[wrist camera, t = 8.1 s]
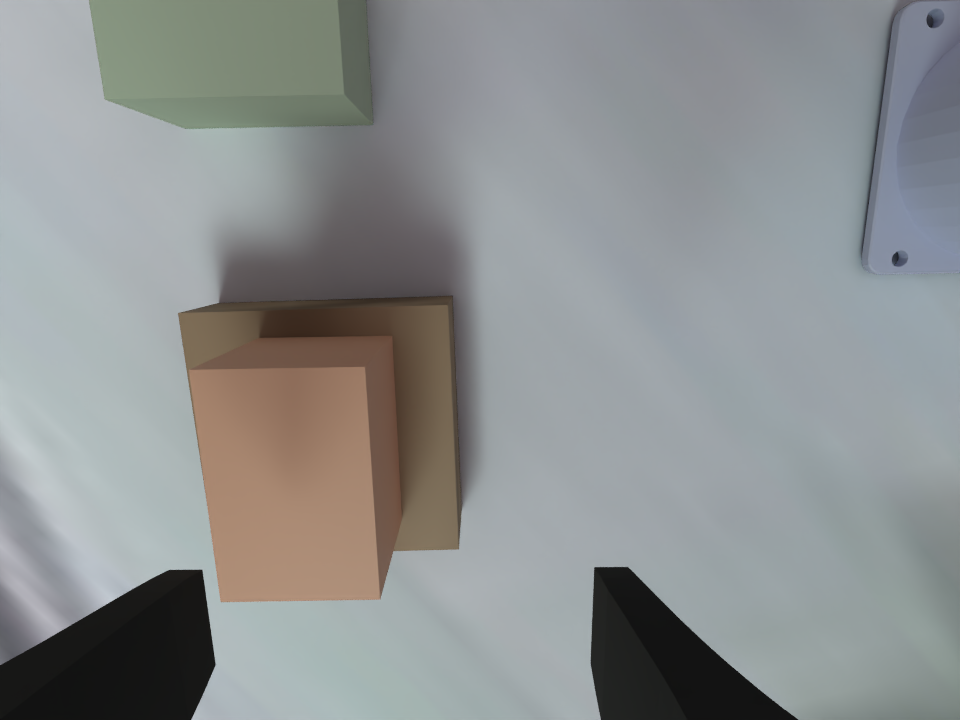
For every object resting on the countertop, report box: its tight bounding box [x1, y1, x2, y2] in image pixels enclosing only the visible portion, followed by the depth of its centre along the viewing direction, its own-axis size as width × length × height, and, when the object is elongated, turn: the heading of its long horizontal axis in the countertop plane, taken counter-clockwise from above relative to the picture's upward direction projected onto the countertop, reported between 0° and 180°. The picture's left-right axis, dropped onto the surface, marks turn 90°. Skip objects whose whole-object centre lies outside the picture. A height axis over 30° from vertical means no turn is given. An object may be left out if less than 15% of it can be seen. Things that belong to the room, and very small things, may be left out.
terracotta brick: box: [189, 336, 402, 602], centre depth 15 cm, size 6×4×4 cm, turn 1°
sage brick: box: [89, 0, 373, 129], centre depth 15 cm, size 6×4×4 cm, turn 91°
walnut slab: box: [178, 296, 462, 551], centre depth 18 cm, size 8×8×3 cm
